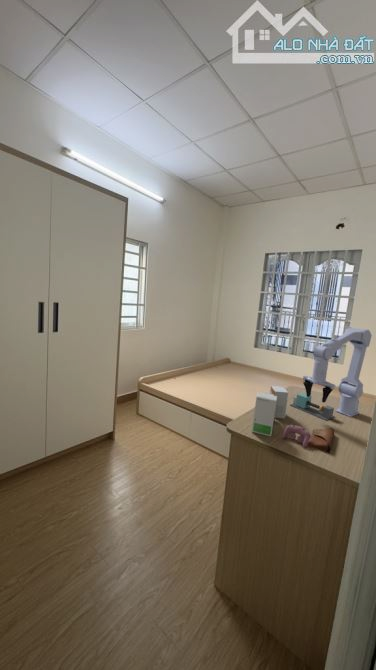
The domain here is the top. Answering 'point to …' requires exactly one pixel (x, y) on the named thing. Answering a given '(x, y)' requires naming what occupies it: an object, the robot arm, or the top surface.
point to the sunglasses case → (322, 439)
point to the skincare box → (264, 414)
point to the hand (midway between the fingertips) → (315, 399)
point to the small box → (280, 400)
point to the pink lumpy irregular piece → (299, 430)
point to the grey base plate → (312, 411)
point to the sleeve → (303, 400)
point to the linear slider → (320, 409)
